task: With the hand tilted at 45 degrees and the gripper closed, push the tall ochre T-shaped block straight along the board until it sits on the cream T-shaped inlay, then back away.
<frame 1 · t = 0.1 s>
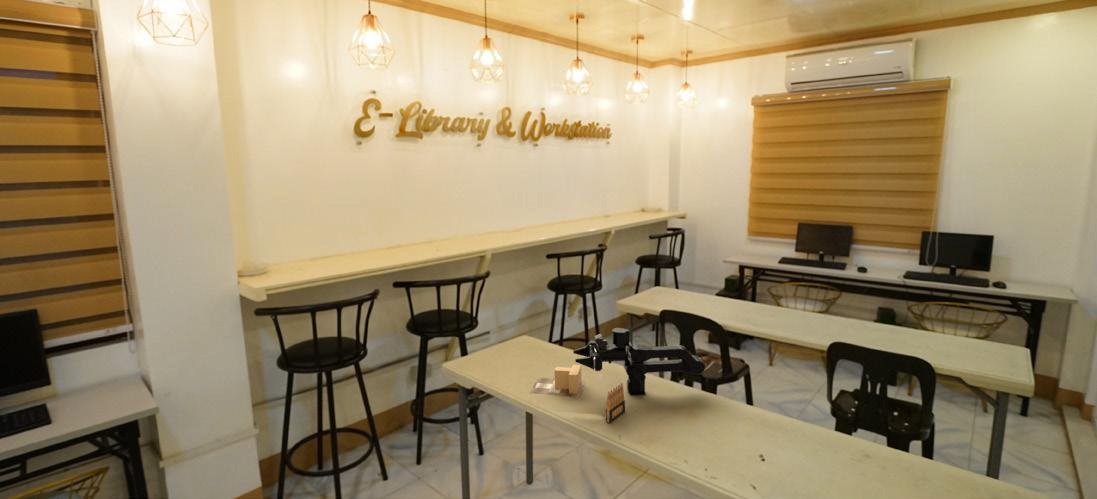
hand: (574, 356, 210), 17 cm above the table, tool horizontal, fingers open, 9 cm apart
t block: (567, 387, 216), point 1 cm above the table, touching board
board: (558, 390, 217), on the table
ammunition clip: (615, 417, 193), on the table
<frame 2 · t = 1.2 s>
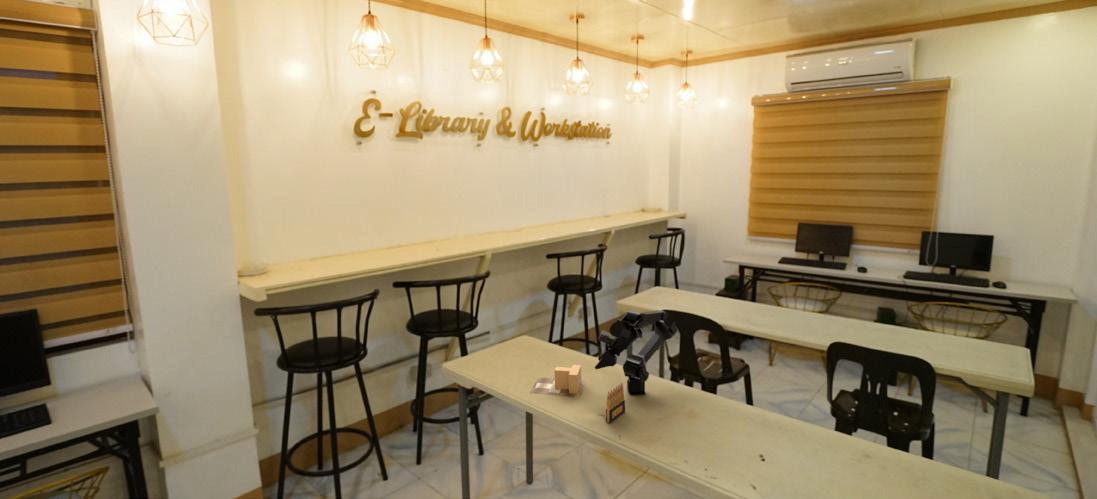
hand: (597, 364, 211), 13 cm above the table, tool tilted 45°, fingers open, 9 cm apart
nothing on the table moved.
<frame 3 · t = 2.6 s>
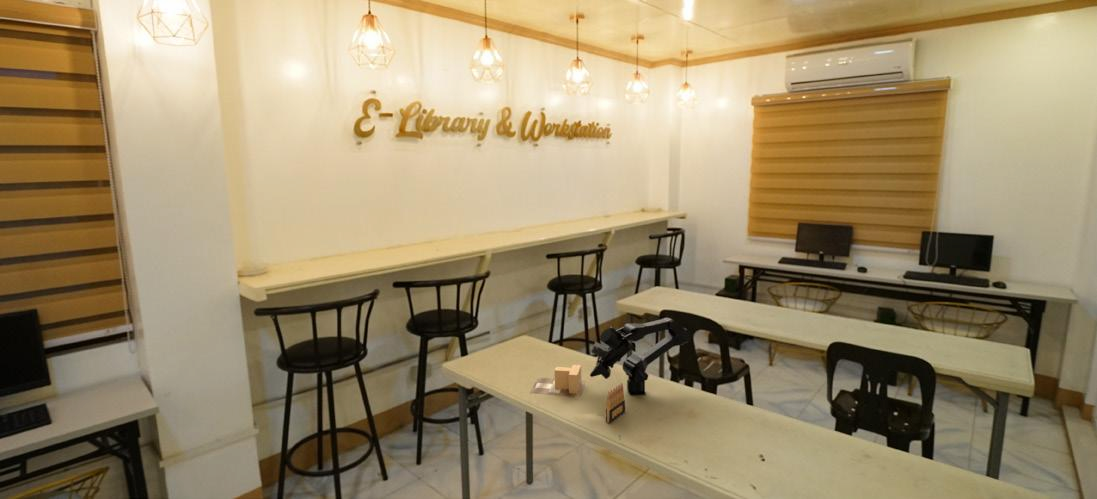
hand: (590, 375, 212), 7 cm above the table, tool tilted 45°, fingers closed
nothing on the table moved.
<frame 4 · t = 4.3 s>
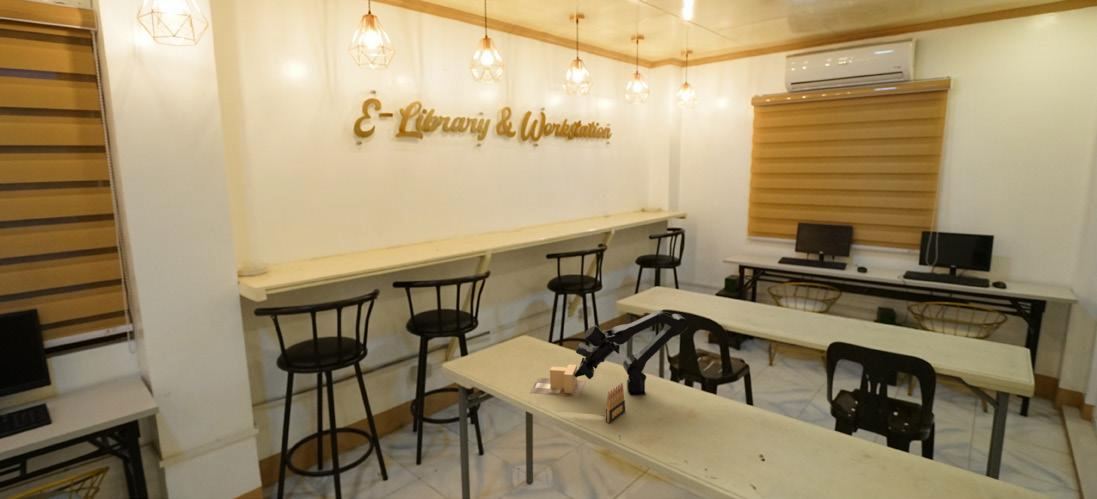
hand: (575, 376, 214), 7 cm above the table, tool tilted 45°, fingers closed, pressing on t block
t block: (563, 387, 216), point 2 cm above the table, touching board, gripper
everything else where it was.
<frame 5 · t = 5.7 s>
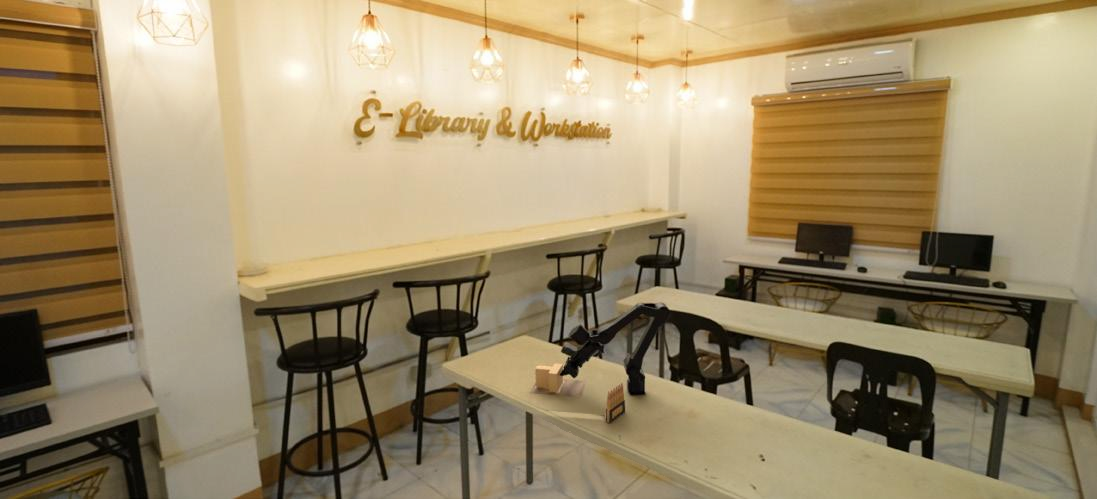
hand: (560, 375, 215), 7 cm above the table, tool tilted 45°, fingers closed, pressing on t block
t block: (548, 385, 218), point 2 cm above the table, touching board, gripper
everything else where it was.
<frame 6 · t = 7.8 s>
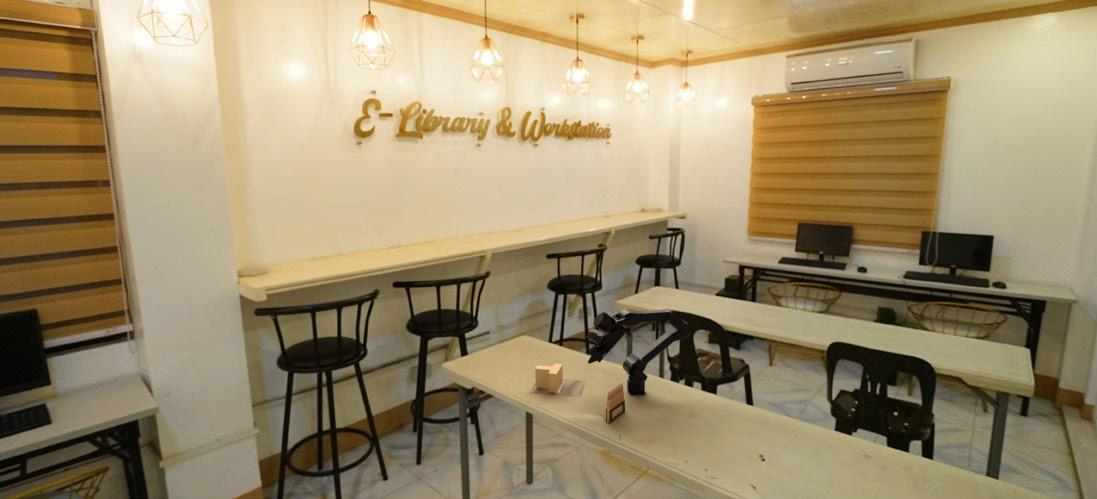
hand: (588, 362, 212), 13 cm above the table, tool tilted 40°, fingers closed
t block: (548, 385, 218), point 1 cm above the table, touching board
everything else where it was.
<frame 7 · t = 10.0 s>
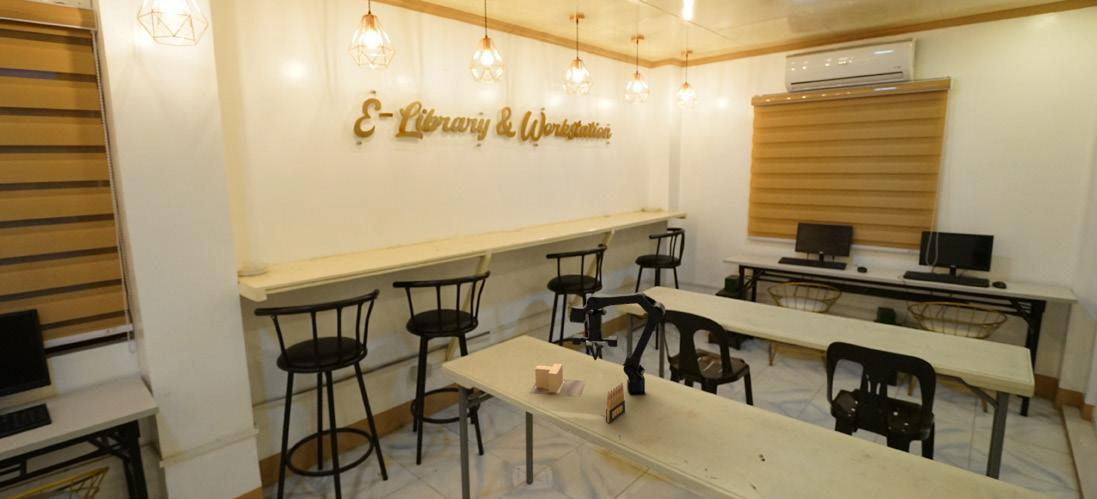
hand: (595, 359, 217), 12 cm above the table, tool pointing down, fingers closed
nothing on the table moved.
at the end: t block 0.2 cm from the target spot, point 1.5 cm above the table; t block tilted 0°; t block moved 8.2 cm from its start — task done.
